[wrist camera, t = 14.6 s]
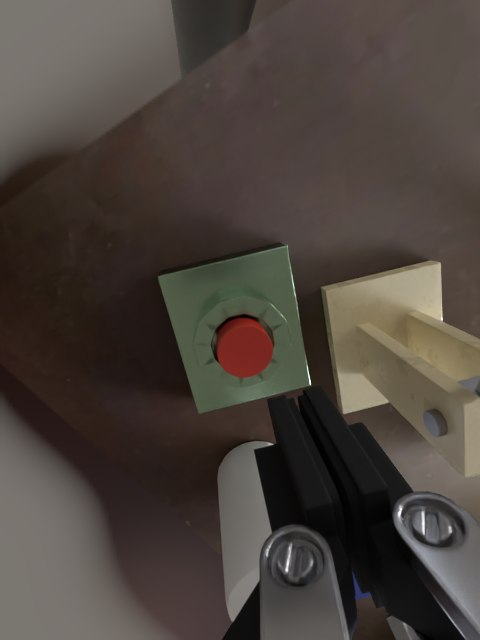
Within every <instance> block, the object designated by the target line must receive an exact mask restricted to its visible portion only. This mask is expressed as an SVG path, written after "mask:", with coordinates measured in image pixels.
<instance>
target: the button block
mask: <svg viewBox="0 0 480 640" xmlns="http://www.w3.org/2000/svg"><path fill="white" fill-rule="evenodd" d="M157 278H158V281H159V285H160V288H161V291H162V295H163V298H164V301H165V305H166V308H167V311H168V315H169V318H170V321H171V325H172V328H173V331H174V335H175V338H176V341H177V345H178V348H179V351H180V355H181V358H182V361H183V365H184V368H185V371H186V375H187V378H188V381H189V385H190V388H191V391H192V395H193V398H194V401H195V405H196V408H197V411H198V414H201V413H204V412H208V411H212V410H216V409H220V408H224V407H228V406H232V405H236V404H240V403H244V402H248V401H252V400H256V399H260V398H264V397H268V396H272V395H276V394H279V393H283V392H287V391H291V390H295V389H299V388H303V387H307V386H310V385H311V382H310V376H309V370H308V364H307V359H306V353H305V347H304V341H303V335H302V329H301V324H300V318H299V312H298V306H297V300H296V294H295V289H294V283H293V277H292V271H291V265H290V259H289V254H288V248H287V246H286V245H284V244H282V243H276V244H272V245H267V246H263V247H259V248H255V249H251V250H246V251H242V252H238V253H234V254H229V255H225V256H221V257H217V258H213V259H208V260H204V261H200V262H196V263H191V264H187V265H183V266H179V267H175V268H170V269H166V270H162V271H160V273H159V275H158V276H157ZM236 318H251V319H254V320H256V321H257V322H259V323H260V324H261V325H262V326H263V327H264V328H265V330H266V332H267V333H268V335H269V337H270V339H271V341H272V344H273V356H272V359H271V361H270V363H269V365H268V366H267V367H266V368H265V369H264V370H263V371H262V372H260V373H259V374H257V375H255V376H252V377H245V378H243V377H236V376H233V375H231V374H229V373H228V372H226V371H225V370H224V369H223V368H222V366H221V365H220V363H219V361H218V357H217V349H216V338H217V335H218V333H219V331H220V329H221V328H222V327H223V326H224V325H225V324H226V323H227V322H229V321H231V320H233V319H236Z"/></svg>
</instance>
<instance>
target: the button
mask: <svg viewBox="0 0 480 640" xmlns="http://www.w3.org/2000/svg"><path fill="white" fill-rule="evenodd" d="M216 349H217V357H218V361H219V363H220V365H221V366H222V368H223V369H224V370H225V371H226V372H228V373H229V374H231V375H233V376H236V377H243V378H245V377H252V376H255V375H257V374H259V373H260V372H262V371H263V370H264V369H265V368H266V367H267V366H268V365H269V363H270V361H271V359H272V356H273V344H272V341H271V339H270V337H269V335H268V333H267V332H266V330H265V328H264V327H263V326H262V325H261V324H260V323H259V322H257V321H256V320H254V319H251V318H236V319H233V320H231V321H229V322H227V323H226V324H225V325H224V326H223V327H222V328H221V329H220V331H219V333H218V335H217V338H216Z"/></svg>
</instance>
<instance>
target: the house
mask: <svg viewBox="0 0 480 640" xmlns="http://www.w3.org/2000/svg"><path fill="white" fill-rule="evenodd" d="M387 621H388V623H389V625H390V628H391V630H392V632H393V634H394V636H395V639H396V640H411V639H410V637H409V636H408V634H407V631H406V629H405V627H404V625H403V622H402V621H400V620H398V619H397V618H395V617H393V616H392V615H391V616H389V617H388V618H387Z"/></svg>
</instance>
